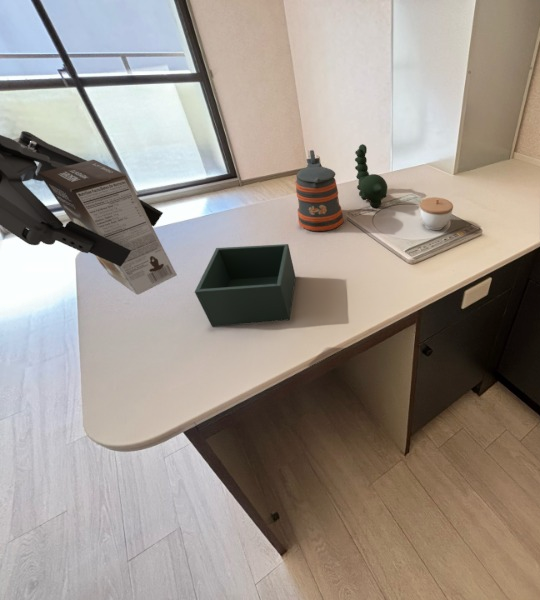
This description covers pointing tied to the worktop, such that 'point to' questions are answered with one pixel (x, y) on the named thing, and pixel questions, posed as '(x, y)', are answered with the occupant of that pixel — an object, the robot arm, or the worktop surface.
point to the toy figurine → (369, 180)
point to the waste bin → (247, 285)
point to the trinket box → (435, 212)
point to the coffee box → (112, 220)
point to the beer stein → (318, 197)
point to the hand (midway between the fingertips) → (143, 237)
